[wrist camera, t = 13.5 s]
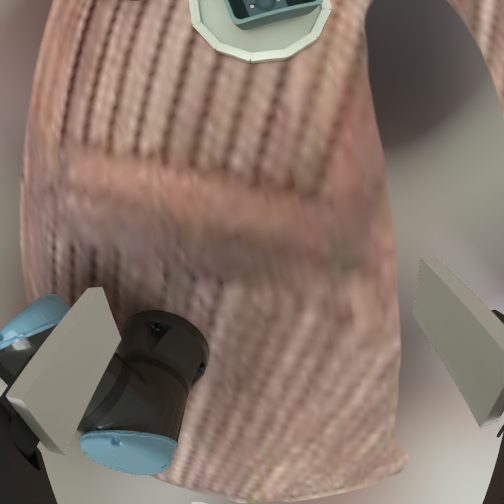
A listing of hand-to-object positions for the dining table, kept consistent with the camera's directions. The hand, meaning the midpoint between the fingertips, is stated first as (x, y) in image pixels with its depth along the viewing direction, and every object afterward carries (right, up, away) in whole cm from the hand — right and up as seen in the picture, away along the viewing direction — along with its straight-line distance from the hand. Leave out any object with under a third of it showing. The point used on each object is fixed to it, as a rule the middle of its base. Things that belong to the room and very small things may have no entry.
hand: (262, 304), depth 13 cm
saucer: (+1, +32, +18) cm, 36 cm away
